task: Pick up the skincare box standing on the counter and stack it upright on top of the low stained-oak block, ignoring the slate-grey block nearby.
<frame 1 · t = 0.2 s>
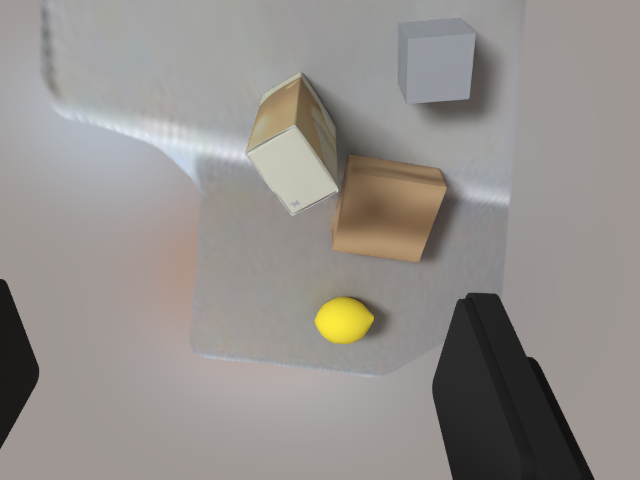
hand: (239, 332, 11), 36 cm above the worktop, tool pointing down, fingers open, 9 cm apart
oak block: (382, 198, 51), on the worktop
lemon: (343, 303, 60), on the worktop
skincare box: (298, 109, 45), on the worktop
grey block: (427, 51, 42), on the worktop
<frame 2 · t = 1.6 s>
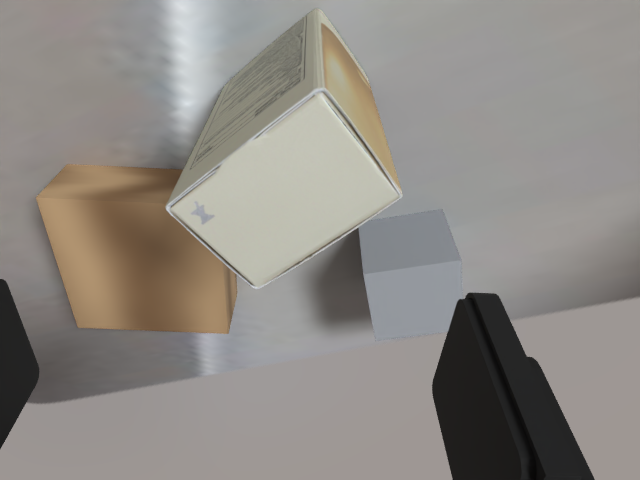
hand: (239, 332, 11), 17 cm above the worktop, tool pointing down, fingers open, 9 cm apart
oak block: (161, 231, 31), on the worktop
skincare box: (298, 78, 25), on the worktop
grey block: (403, 248, 31), on the worktop
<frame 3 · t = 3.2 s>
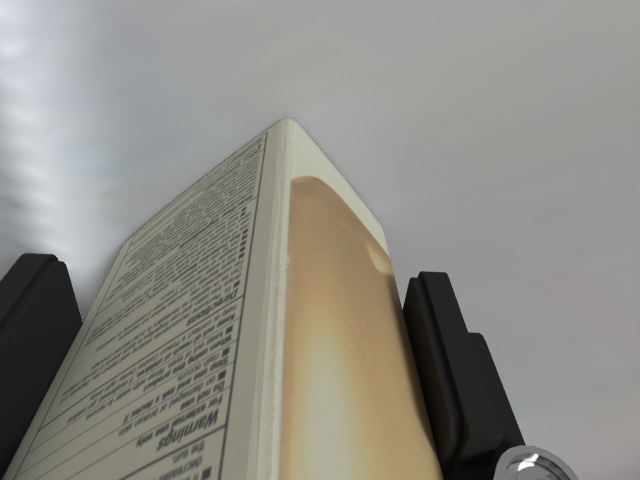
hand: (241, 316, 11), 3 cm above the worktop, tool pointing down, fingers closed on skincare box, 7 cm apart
skincare box: (258, 226, 14), on the worktop, touching gripper
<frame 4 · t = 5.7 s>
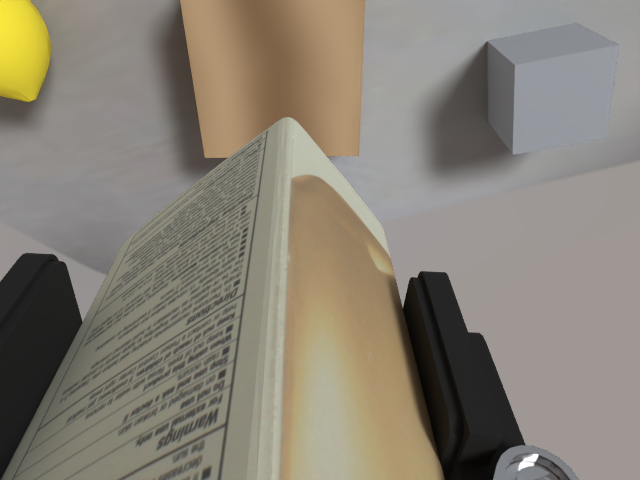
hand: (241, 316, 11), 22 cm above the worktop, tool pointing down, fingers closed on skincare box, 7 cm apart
oak block: (281, 58, 30), on the worktop
lemon: (18, 25, 28), on the worktop
skincare box: (258, 226, 14), point 19 cm above the worktop, touching gripper
grey block: (529, 74, 30), on the worktop
when the fingers open (8 cm above the worktop, at t = 8.1 s): skincare box stays where it is, resting on oak block.
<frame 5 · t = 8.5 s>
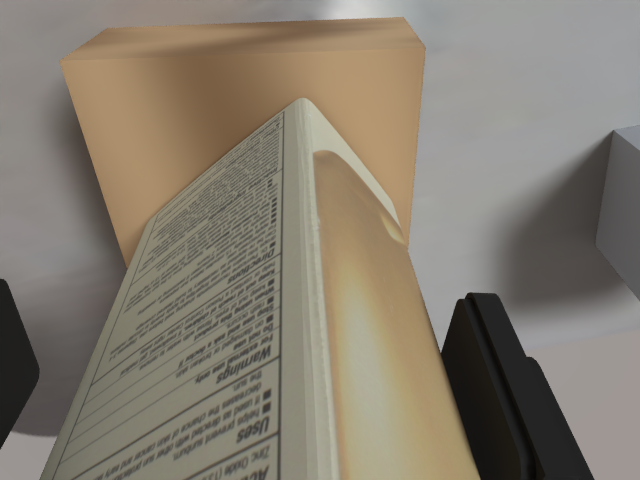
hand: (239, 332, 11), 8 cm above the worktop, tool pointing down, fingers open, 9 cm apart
oak block: (269, 152, 18), on the worktop, touching skincare box
skincare box: (274, 202, 15), point 3 cm above the worktop, touching oak block
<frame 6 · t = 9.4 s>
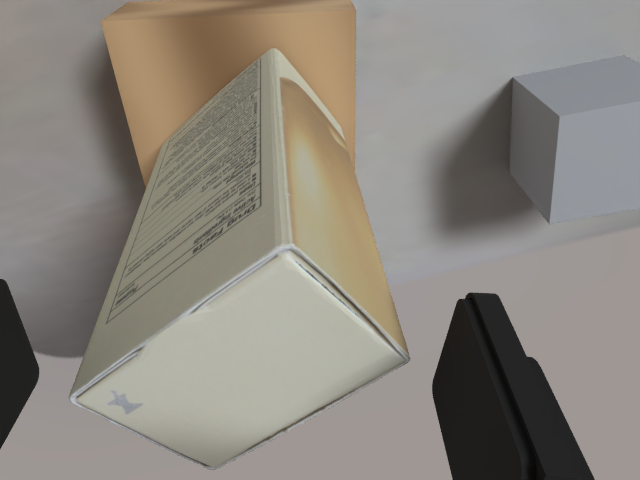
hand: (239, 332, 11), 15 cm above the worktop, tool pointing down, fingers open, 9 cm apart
oak block: (251, 100, 23), on the worktop, touching skincare box
skincare box: (255, 130, 20), point 3 cm above the worktop, touching oak block
grey block: (562, 117, 24), on the worktop
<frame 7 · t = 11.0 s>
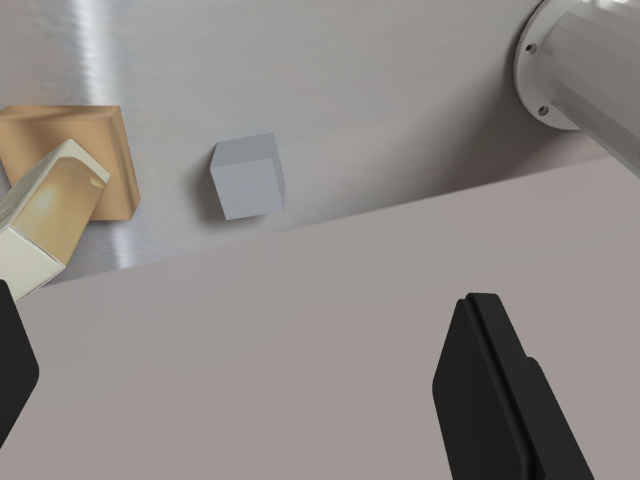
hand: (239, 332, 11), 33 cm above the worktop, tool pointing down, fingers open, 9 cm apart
oak block: (80, 153, 44), on the worktop, touching skincare box
skincare box: (68, 173, 41), point 3 cm above the worktop, touching oak block
grey block: (252, 162, 45), on the worktop
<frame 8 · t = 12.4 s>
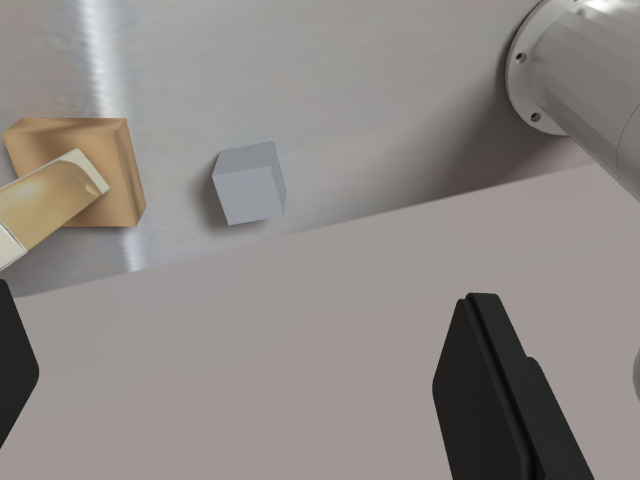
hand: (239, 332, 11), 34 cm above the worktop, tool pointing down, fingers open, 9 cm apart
oak block: (89, 162, 46), on the worktop, touching skincare box
skincare box: (72, 183, 43), point 4 cm above the worktop, touching oak block
grey block: (254, 169, 47), on the worktop
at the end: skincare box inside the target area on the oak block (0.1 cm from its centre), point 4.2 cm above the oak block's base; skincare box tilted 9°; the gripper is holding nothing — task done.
